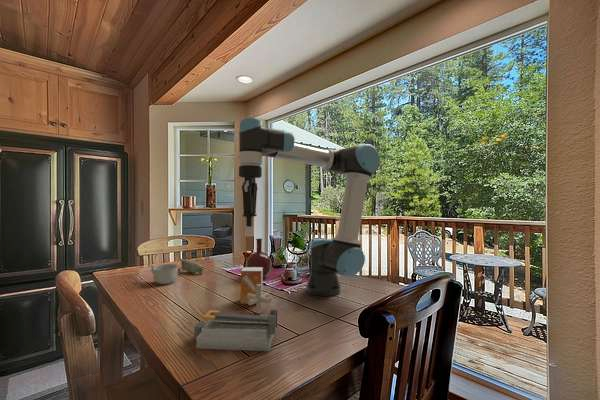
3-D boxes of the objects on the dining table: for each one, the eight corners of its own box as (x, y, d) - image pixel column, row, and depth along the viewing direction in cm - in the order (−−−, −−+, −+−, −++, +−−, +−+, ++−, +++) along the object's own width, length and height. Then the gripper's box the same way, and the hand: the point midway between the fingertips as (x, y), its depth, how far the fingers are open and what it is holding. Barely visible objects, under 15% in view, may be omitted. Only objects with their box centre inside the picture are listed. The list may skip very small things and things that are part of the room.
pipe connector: (260, 320, 97) (260, 290, 97) (238, 314, 103) (238, 285, 103) (278, 311, 106) (278, 283, 106) (257, 305, 111) (257, 279, 111)
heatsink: (278, 331, 90) (278, 305, 90) (273, 351, 78) (273, 321, 78) (204, 328, 91) (205, 303, 91) (188, 348, 79) (188, 318, 79)
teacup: (182, 282, 141) (182, 265, 141) (161, 287, 132) (161, 270, 132) (165, 277, 148) (165, 262, 148) (144, 282, 139) (144, 266, 139)
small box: (240, 304, 112) (240, 270, 112) (242, 298, 118) (243, 266, 118) (261, 304, 112) (261, 270, 112) (262, 298, 119) (263, 266, 119)
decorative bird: (198, 276, 152) (198, 262, 152) (175, 272, 159) (176, 259, 159) (205, 274, 157) (205, 260, 157) (183, 270, 164) (183, 257, 164)
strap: (276, 318, 86) (276, 314, 86) (273, 326, 81) (274, 321, 81) (209, 313, 87) (210, 308, 87) (203, 320, 82) (203, 315, 82)
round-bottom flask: (246, 274, 156) (247, 237, 156) (271, 273, 158) (271, 237, 158) (244, 281, 143) (245, 240, 143) (271, 280, 145) (272, 240, 145)
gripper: (244, 167, 104) (243, 233, 104) (233, 163, 91) (233, 238, 91) (264, 167, 103) (264, 233, 104) (257, 163, 90) (256, 238, 91)
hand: (249, 235), depth 97 cm, fingers closed
